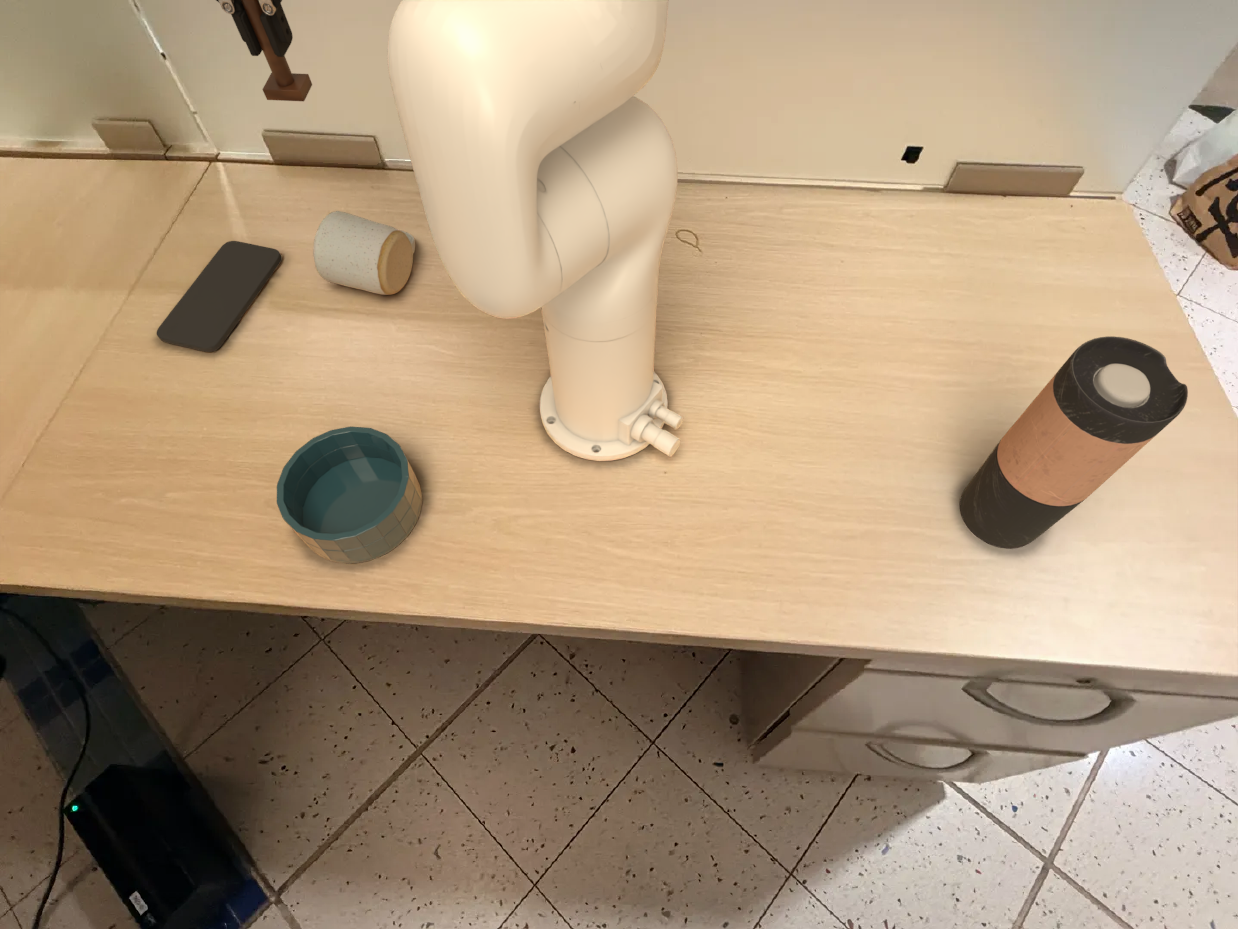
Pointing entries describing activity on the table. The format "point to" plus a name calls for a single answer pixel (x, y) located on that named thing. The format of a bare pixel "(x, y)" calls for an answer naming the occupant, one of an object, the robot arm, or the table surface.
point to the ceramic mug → (363, 253)
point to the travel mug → (1072, 439)
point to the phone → (219, 296)
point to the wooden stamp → (276, 64)
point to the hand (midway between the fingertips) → (272, 47)
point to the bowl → (350, 494)
